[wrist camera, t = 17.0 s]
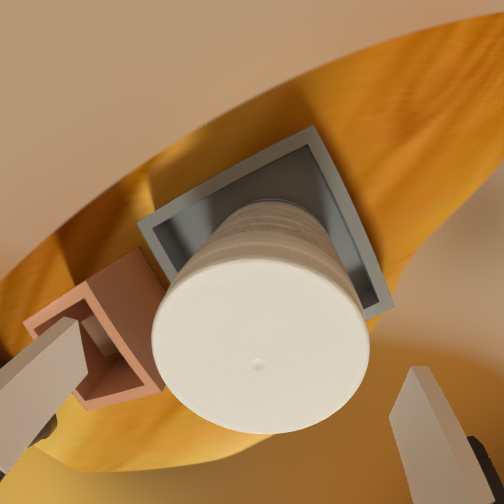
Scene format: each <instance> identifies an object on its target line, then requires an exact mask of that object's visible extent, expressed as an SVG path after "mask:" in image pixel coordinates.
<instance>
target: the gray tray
mask: <svg viewBox="0 0 504 504" xmlns="http://www.w3.org/2000/svg"><path fill="white" fill-rule="evenodd" d="M260 199H283V200H287V201H291V202H294V203H296V204H298V205H300V206H302V207H304V208H305V209H307V210H308V211H310V212H311V213H312V214H313V215H314V216H315V217H316V218H317V219H318V220H319V221H320V223H321V224H322V225H323V227H324V228H325V230H326V232H327V234H328V235H329V237H330V239H331V241H332V243H333V245H334V247H335V249H336V251H337V253H338V255H339V257H340V259H341V261H342V263H343V265H344V267H345V269H346V271H347V273H348V275H349V278H350V280H351V282H352V284H353V286H354V288H355V290H356V293H357V295H358V297H359V300H360V302H361V305H362V307H363V311H364V315H365V319H366V320H368V319H370V318H372V317H374V316H376V315H379V314H381V313H383V312H385V311H387V310H389V309H391V308H393V307H394V304H393V301H392V298H391V295H390V292H389V290H388V287H387V284H386V282H385V279H384V276H383V274H382V271H381V269H380V266H379V264H378V261H377V258H376V256H375V254H374V251H373V249H372V246H371V244H370V241H369V239H368V237H367V234H366V232H365V230H364V227H363V225H362V223H361V220H360V218H359V216H358V214H357V211H356V209H355V207H354V205H353V202H352V200H351V198H350V196H349V194H348V192H347V190H346V187H345V185H344V183H343V181H342V179H341V177H340V175H339V173H338V171H337V169H336V167H335V165H334V163H333V161H332V159H331V157H330V155H329V153H328V151H327V149H326V147H325V145H324V143H323V141H322V139H321V138H320V136H319V134H318V132H317V130H316V128H315V126H314V125H312V126H310V127H308V128H306V129H304V130H301V131H299V132H297V133H295V134H293V135H291V136H289V137H287V138H285V139H283V140H281V141H279V142H277V143H275V144H273V145H271V146H269V147H267V148H266V149H264V150H262V151H260V152H258V153H256V154H254V155H252V156H250V157H248V158H246V159H245V160H243V161H241V162H239V163H237V164H235V165H234V166H232V167H230V168H228V169H226V170H224V171H223V172H221V173H219V174H217V175H215V176H214V177H212V178H210V179H208V180H207V181H205V182H203V183H201V184H200V185H198V186H196V187H194V188H193V189H191V190H189V191H188V192H186V193H184V194H182V195H181V196H179V197H177V198H176V199H174V200H172V201H171V202H169V203H167V204H166V205H164V206H163V207H161V208H159V209H158V210H156V211H154V212H153V213H151V214H150V215H148V216H146V217H145V218H143V219H142V220H140V221H138V222H137V223H136V224H137V226H138V227H139V229H140V231H141V233H142V235H143V236H144V238H145V240H146V242H147V244H148V245H149V247H150V249H151V251H152V252H153V254H154V256H155V258H156V259H157V261H158V263H159V264H160V266H161V268H162V269H163V271H164V273H165V275H166V276H167V278H168V280H169V281H170V283H172V281H173V280H174V278H175V277H176V275H177V274H178V273H179V271H180V270H181V269H182V268H183V267H184V265H185V264H186V263H187V262H188V261H189V259H190V258H191V257H192V256H193V255H194V254H195V253H196V252H197V251H198V249H199V248H200V247H201V246H202V245H203V244H204V243H205V242H206V241H207V240H208V238H209V237H210V236H211V235H212V234H213V233H214V232H215V231H216V230H217V229H218V228H219V227H220V225H221V224H222V223H223V222H224V221H225V220H226V219H227V218H228V217H229V216H230V215H231V214H232V213H233V212H234V211H236V210H237V209H238V208H240V207H242V206H243V205H246V204H248V203H250V202H253V201H256V200H260Z"/></svg>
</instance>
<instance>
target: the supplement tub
mask: <svg viewBox="0 0 504 504" xmlns="http://www.w3.org/2000/svg"><path fill="white" fill-rule="evenodd" d="M151 344H152V352H153V357H154V360H155V364H156V366H157V369H158V371H159V373H160V375H161V377H162V379H163V380H164V382H165V384H166V385H167V387H168V388H169V389H170V391H171V392H172V393H173V394H174V395H175V396H176V397H177V398H178V399H179V400H180V401H181V402H182V403H183V404H184V405H185V406H186V407H188V408H189V409H190V410H192V411H193V412H195V413H196V414H198V415H199V416H201V417H202V418H204V419H206V420H208V421H210V422H212V423H215V424H217V425H219V426H222V427H225V428H228V429H231V430H236V431H240V432H246V433H254V434H276V433H284V432H291V431H295V430H299V429H303V428H306V427H308V426H311V425H313V424H316V423H318V422H320V421H322V420H324V419H325V418H327V417H329V416H330V415H332V414H333V413H334V412H336V411H337V410H339V409H340V408H341V407H342V406H343V405H344V404H345V403H346V402H347V401H348V400H349V399H350V398H351V397H352V395H353V394H354V393H355V391H356V390H357V389H358V387H359V385H360V383H361V381H362V379H363V377H364V375H365V372H366V369H367V366H368V361H369V353H370V341H369V335H368V329H367V326H366V319H365V315H364V311H363V307H362V305H361V302H360V300H359V297H358V295H357V293H356V290H355V288H354V286H353V284H352V282H351V280H350V278H349V275H348V273H347V271H346V269H345V267H344V265H343V263H342V261H341V259H340V257H339V255H338V253H337V251H336V249H335V247H334V245H333V243H332V241H331V239H330V237H329V235H328V234H327V232H326V230H325V228H324V227H323V225H322V224H321V223H320V221H319V220H318V219H317V218H316V217H315V216H314V215H313V214H312V213H311V212H310V211H308V210H307V209H305V208H304V207H302V206H300V205H298V204H296V203H294V202H291V201H287V200H283V199H260V200H256V201H253V202H250V203H248V204H246V205H243V206H242V207H240V208H238V209H237V210H236V211H234V212H233V213H232V214H231V215H230V216H229V217H228V218H227V219H226V220H225V221H224V222H223V223H222V224H221V225H220V227H219V228H218V229H217V230H216V231H215V232H214V233H213V234H212V235H211V236H210V237H209V238H208V240H207V241H206V242H205V243H204V244H203V245H202V246H201V247H200V248H199V249H198V251H197V252H196V253H195V254H194V255H193V256H192V257H191V258H190V259H189V261H188V262H187V263H186V264H185V265H184V267H183V268H182V269H181V270H180V271H179V273H178V274H177V275H176V277H175V278H174V280H173V281H172V283H171V285H170V287H169V288H168V290H167V292H166V294H165V296H164V298H163V300H162V301H161V303H160V305H159V307H158V309H157V312H156V315H155V318H154V321H153V326H152V332H151Z"/></svg>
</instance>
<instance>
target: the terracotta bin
mask: <svg viewBox="0 0 504 504" xmlns="http://www.w3.org/2000/svg"><path fill="white" fill-rule="evenodd" d="M165 294H166V291H165V290H164V288H163V286H162V285H161V283H160V281H159V280H158V278H157V276H156V275H155V273H154V271H153V270H152V268H151V266H150V265H149V263H148V261H147V260H146V258H145V256H144V254H143V253H142V251H141V249H140V247H137V248H135V249H134V250H132V251H130V252H129V253H127V254H125V255H124V256H122V257H121V258H119V259H117V260H116V261H114V262H112V263H111V264H109V265H108V266H106V267H104V268H103V269H101V270H100V271H98V272H96V273H95V274H93V275H92V276H90V277H89V278H87V279H85V280H84V281H82V282H81V283H79V284H78V285H76V286H75V287H73V288H72V289H70V290H69V291H67V292H66V293H64V294H63V295H61V296H60V297H58V298H57V299H55V300H54V301H52V302H51V303H50V304H48V305H47V306H45V307H44V308H42V309H41V310H40V311H38V312H37V313H35V314H34V315H32V316H31V317H30V318H28V319H27V320H25V321H24V322H23V324H24V326H25V327H26V329H27V330H28V332H29V334H30V335H31V337H32V338H33V340H35V339H37V338H38V337H39V336H40V335H41V334H43V333H44V332H45V331H46V330H48V329H49V328H50V327H51V326H53V325H54V324H55V323H56V322H58V321H59V320H60V319H61V318H63V317H68V318H72V319H75V320H78V324H79V330H80V335H81V341H82V346H83V351H84V356H85V361H86V366H87V370H88V374H87V375H86V376H85V378H84V379H83V380H82V381H81V382H80V383H79V385H78V386H77V387H76V388H75V389H74V391H73V392H72V394H73V395H74V397H75V398H76V399H77V400H78V402H79V403H80V404H81V405H82V406H83V408H84V409H85V410H90V409H95V408H99V407H104V406H108V405H113V404H117V403H121V402H125V401H129V400H133V399H137V398H141V397H145V396H149V395H153V394H156V393H160V392H162V391H163V389H164V387H165V385H166V384H165V382H164V380H163V379H162V377H161V375H160V373H159V371H158V369H157V366H156V364H155V360H154V357H153V352H152V344H151V332H152V326H153V321H154V318H155V315H156V312H157V309H158V307H159V305H160V303H161V301H162V300H163V298H164V296H165ZM92 312H94V314H95V316H96V317H97V319H98V320H99V322H100V323H101V325H102V326H103V328H104V329H105V331H106V332H107V334H108V335H109V337H110V338H111V340H112V341H113V343H114V344H115V345H116V347H117V348H118V350H119V351H118V352H115V353H113V354H110V355H108V356H105V357H104V355H103V354H102V352H101V351H100V350H99V348H98V347H97V345H96V344H95V342H94V341H93V339H92V338H91V336H90V335H89V333H88V332H87V330H86V329H85V327H84V326H83V324H82V323H81V321H82V320H83V319H85V318H86V317H87V316H88V315H89V314H90V313H92Z"/></svg>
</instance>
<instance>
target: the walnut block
mask: <svg viewBox="0 0 504 504" xmlns="http://www.w3.org/2000/svg"><path fill="white" fill-rule="evenodd" d="M81 323H82V324H83V326H84V327H85V329H86V330H87V332H88V333H89V335H90V336H91V338H92V339H93V341H94V342H95V344H96V345H97V347H98V348H99V350H100V351H101V352H102V354H103V355H104V357H105V356H108V355H110V354H113V353H115V352H118V351H119V350H118V348H117V347H116V345H115V344H114V343H113V341H112V340H111V338H110V337H109V335H108V334H107V332H106V331H105V329H104V328H103V326H102V325H101V323H100V322H99V320H98V319H97V317H96V316H95V314H94V312H92V313H90V314H89V315H88V316H87V317H86V318H85V319H83V320H82V321H81Z"/></svg>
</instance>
